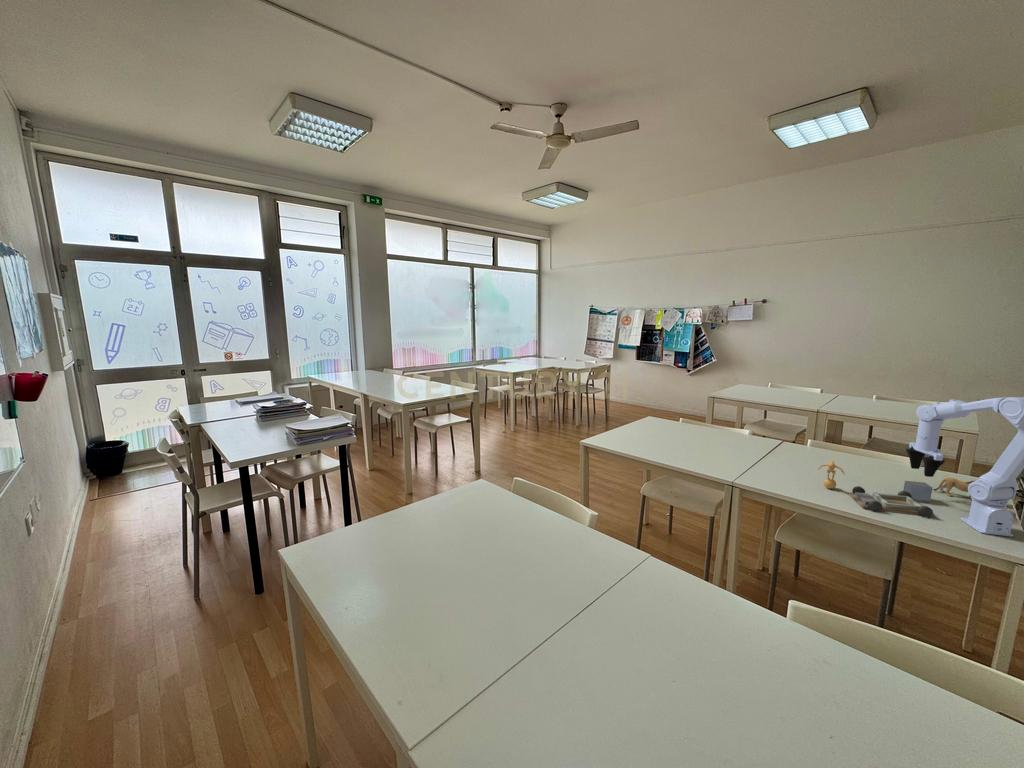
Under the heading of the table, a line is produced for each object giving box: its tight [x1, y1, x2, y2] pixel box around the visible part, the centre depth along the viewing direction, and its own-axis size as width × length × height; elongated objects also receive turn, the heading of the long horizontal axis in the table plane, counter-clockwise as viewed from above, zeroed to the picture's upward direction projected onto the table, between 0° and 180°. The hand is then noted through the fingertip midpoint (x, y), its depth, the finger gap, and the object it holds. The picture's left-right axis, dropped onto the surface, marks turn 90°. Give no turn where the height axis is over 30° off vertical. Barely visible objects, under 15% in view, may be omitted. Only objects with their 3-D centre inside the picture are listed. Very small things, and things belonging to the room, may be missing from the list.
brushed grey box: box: [902, 480, 933, 504], centre depth 154 cm, size 4×6×6 cm
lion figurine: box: [932, 477, 976, 502], centre depth 154 cm, size 15×5×9 cm, turn 44°
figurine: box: [817, 460, 845, 489], centre depth 162 cm, size 8×6×12 cm
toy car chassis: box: [848, 485, 936, 518], centre depth 149 cm, size 13×20×4 cm
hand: (921, 472), depth 153 cm, fingers open, 7 cm apart
